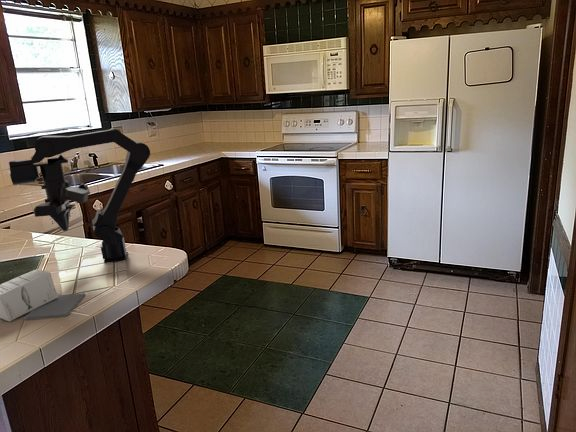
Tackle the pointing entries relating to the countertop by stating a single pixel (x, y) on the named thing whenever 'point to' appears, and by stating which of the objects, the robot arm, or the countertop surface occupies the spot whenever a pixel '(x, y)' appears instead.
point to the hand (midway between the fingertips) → (65, 230)
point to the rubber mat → (56, 307)
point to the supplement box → (26, 294)
